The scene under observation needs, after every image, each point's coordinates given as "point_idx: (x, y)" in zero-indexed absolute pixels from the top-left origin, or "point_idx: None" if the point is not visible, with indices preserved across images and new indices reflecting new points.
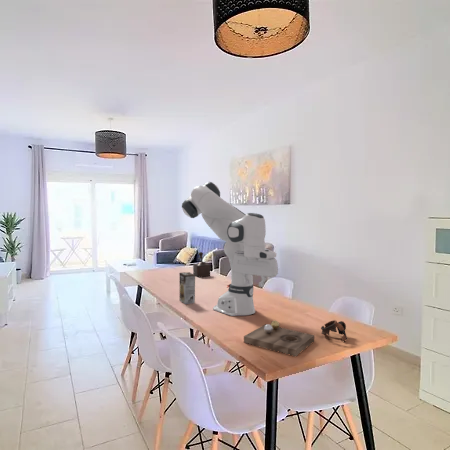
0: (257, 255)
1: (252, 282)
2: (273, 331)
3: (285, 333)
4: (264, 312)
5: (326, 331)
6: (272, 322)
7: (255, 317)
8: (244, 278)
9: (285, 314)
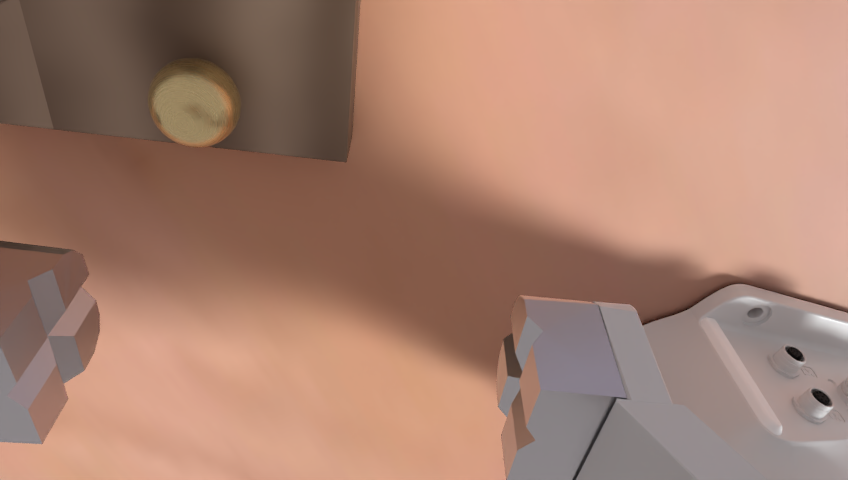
0: None
1: None
2: (177, 7)
3: (50, 13)
4: None
5: None
6: (201, 91)
7: None
8: (695, 455)
9: (370, 443)
